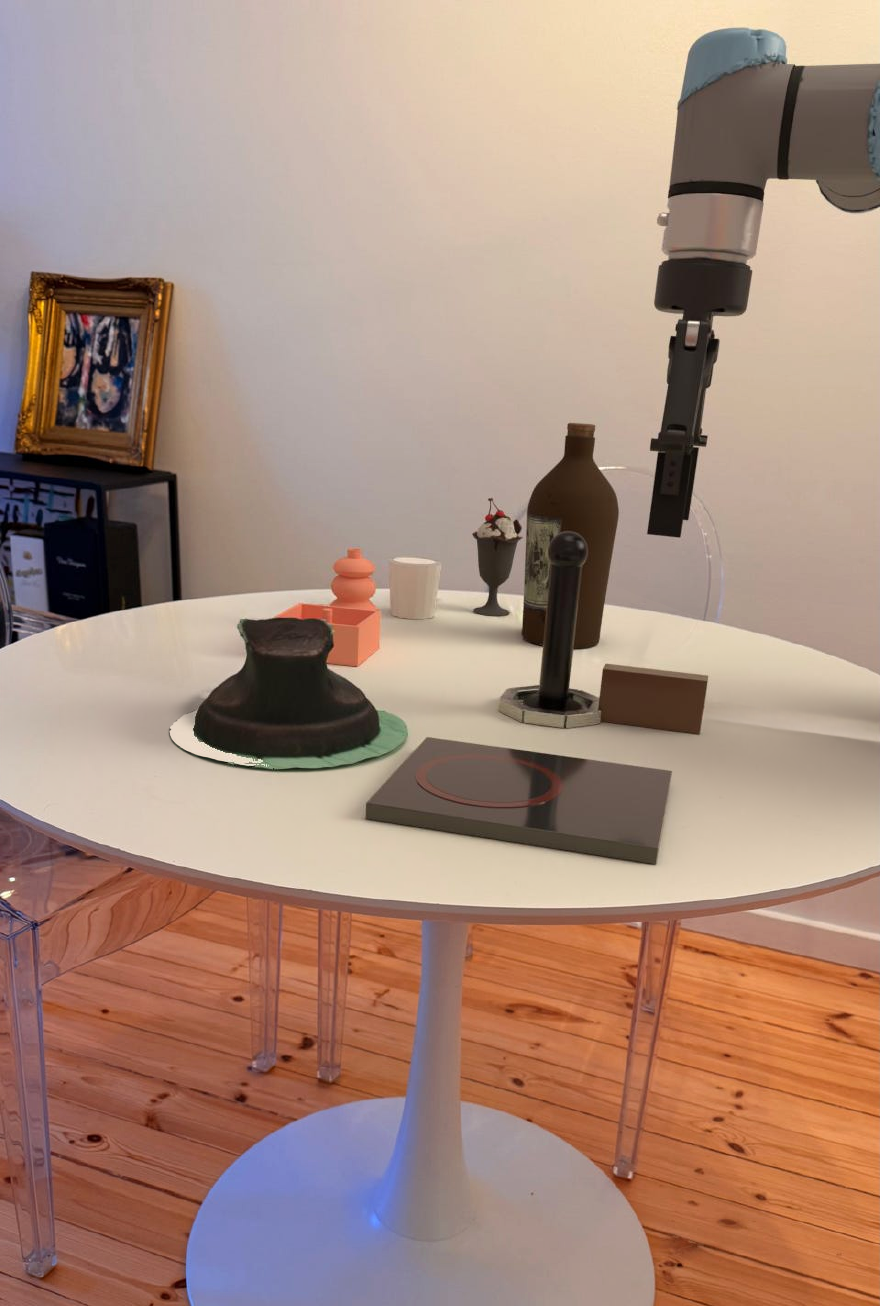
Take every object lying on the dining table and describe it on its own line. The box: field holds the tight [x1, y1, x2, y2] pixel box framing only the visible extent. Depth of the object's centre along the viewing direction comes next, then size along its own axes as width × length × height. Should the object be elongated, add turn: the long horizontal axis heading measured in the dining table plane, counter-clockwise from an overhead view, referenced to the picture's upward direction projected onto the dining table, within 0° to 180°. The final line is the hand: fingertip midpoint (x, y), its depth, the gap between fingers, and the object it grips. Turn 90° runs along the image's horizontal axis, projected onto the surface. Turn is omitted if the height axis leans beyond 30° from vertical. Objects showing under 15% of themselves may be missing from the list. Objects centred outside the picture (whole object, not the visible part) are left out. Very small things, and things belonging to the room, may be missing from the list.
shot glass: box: [388, 556, 443, 620], centre depth 139 cm, size 7×7×7 cm
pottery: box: [272, 547, 382, 667], centre depth 121 cm, size 18×10×10 cm, turn 168°
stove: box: [365, 736, 673, 865], centre depth 80 cm, size 20×16×1 cm
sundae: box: [471, 497, 524, 617], centre depth 142 cm, size 7×7×15 cm
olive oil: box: [521, 422, 620, 649], centre depth 127 cm, size 11×11×25 cm
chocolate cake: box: [193, 616, 409, 770], centre depth 91 cm, size 15×19×20 cm
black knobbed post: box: [522, 531, 588, 712], centre depth 100 cm, size 6×6×17 cm
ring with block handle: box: [497, 663, 709, 735], centre depth 101 cm, size 19×10×5 cm, turn 75°
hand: (669, 526), depth 95 cm, fingers open, 13 cm apart
